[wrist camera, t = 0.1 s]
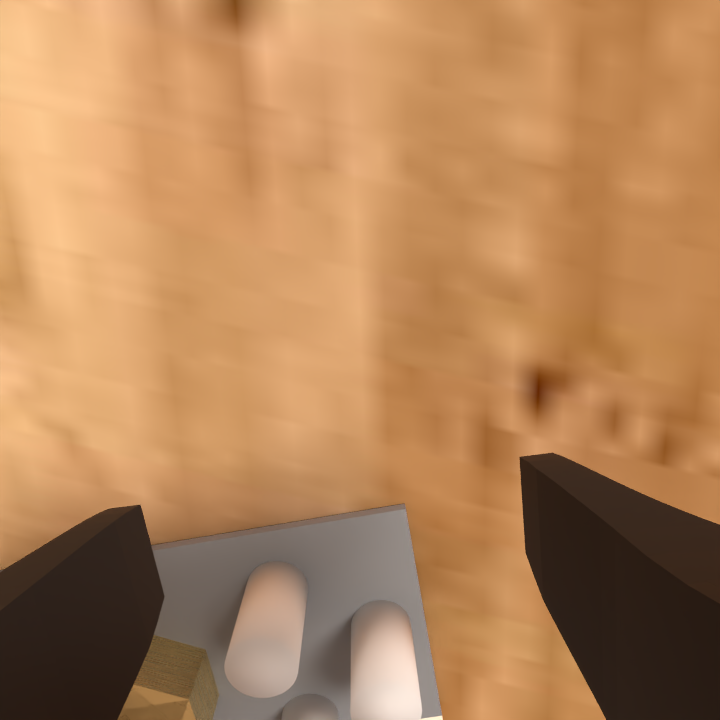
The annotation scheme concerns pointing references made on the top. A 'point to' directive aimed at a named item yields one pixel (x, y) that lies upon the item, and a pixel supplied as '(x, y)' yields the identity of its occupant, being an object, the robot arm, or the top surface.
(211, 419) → the top surface
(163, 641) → the tan faceted polyhedron
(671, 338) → the top surface
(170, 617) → the board
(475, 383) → the top surface
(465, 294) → the top surface
